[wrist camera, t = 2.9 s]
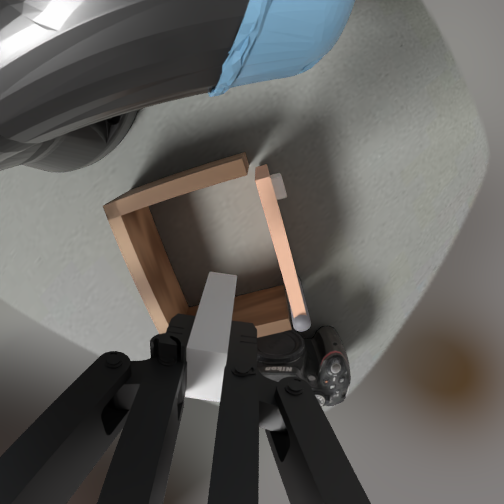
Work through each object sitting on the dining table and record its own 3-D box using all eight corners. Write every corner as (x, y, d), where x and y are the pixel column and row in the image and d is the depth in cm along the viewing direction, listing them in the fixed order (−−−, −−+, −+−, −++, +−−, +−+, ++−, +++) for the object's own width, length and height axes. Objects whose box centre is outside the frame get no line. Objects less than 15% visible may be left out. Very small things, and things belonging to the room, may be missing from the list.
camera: (327, 291, 32) (350, 354, 23) (346, 359, 36) (367, 423, 26) (206, 330, 34) (191, 397, 25) (241, 390, 38) (237, 455, 28)
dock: (130, 190, 28) (102, 206, 23) (245, 152, 27) (242, 158, 22) (182, 318, 34) (170, 354, 28) (286, 294, 32) (291, 329, 27)
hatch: (253, 167, 27) (252, 182, 20) (275, 161, 27) (282, 173, 20) (287, 288, 32) (295, 333, 25) (307, 283, 31) (319, 327, 25)
